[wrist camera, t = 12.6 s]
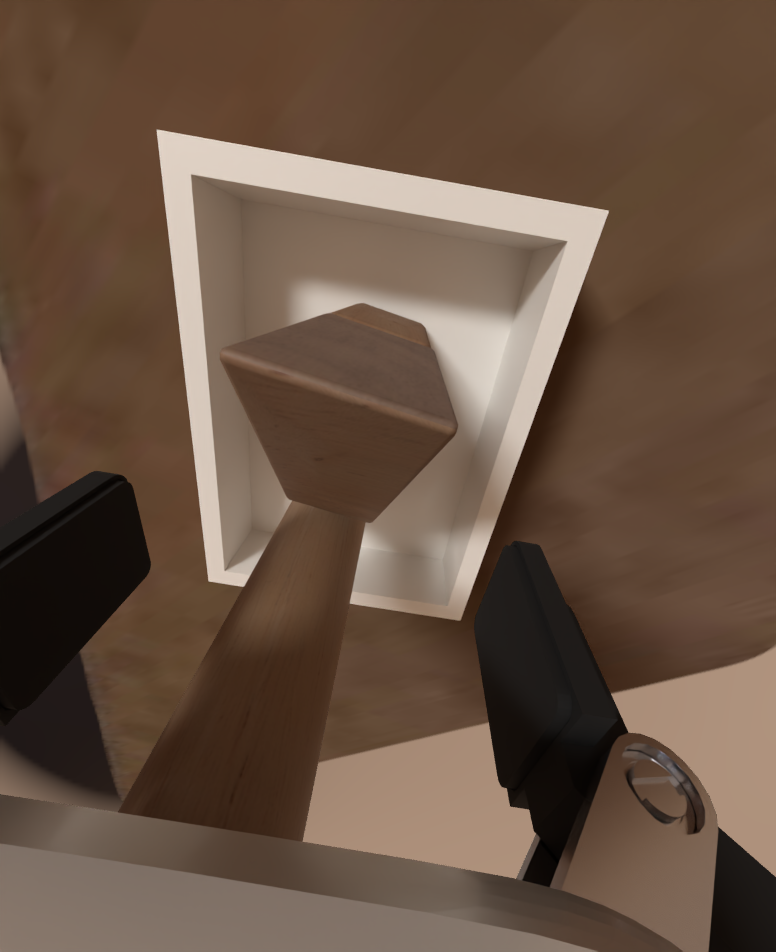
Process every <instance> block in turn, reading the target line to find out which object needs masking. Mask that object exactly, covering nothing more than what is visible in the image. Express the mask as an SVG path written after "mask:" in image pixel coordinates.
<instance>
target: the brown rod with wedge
mask: <svg viewBox="0 0 776 952" xmlns="http://www.w3.org/2000/svg"><path fill="white" fill-rule="evenodd" d="M220 361H221V363H222V365H223V367H224V369H225V371H226V373H227V375H228V377H229V380H230V382H231V384H232V386H233V388H234V390H235V392H236V394H237V396H238V398H239V400H240V402H241V404H242V406H243V408H244V410H245V412H246V415H247V417H248V419H249V421H250V423H251V425H252V427H253V429H254V431H255V433H256V435H257V437H258V439H259V441H260V443H261V445H262V448H263V450H264V452H265V454H266V456H267V458H268V460H269V462H270V464H271V466H272V468H273V470H274V472H275V474H276V476H277V478H278V480H279V483H280V485H281V487H282V489H283V491H284V493H285V495H286V497H287V498H288V499H289V500H292V502H291V503H290V505H289V507H288V509H287V511H286V512H285V514H284V516H283V518H282V520H281V521H280V523H279V525H278V527H277V528H276V530H275V532H274V534H273V536H272V537H271V539H270V541H269V543H268V545H267V546H266V548H265V550H264V552H263V553H262V555H261V557H260V559H259V561H258V562H257V564H256V566H255V568H254V570H253V571H252V573H251V575H250V577H249V579H248V580H247V582H246V584H245V586H244V587H243V589H242V591H241V593H240V595H239V596H238V598H237V600H236V602H235V604H234V605H233V607H232V609H231V611H230V612H229V614H228V616H227V618H226V620H225V621H224V623H223V625H222V627H221V629H220V630H219V632H218V634H217V636H216V638H215V639H214V641H213V643H212V645H211V646H210V648H209V650H208V652H207V654H206V655H205V657H204V659H203V661H202V663H201V664H200V666H199V668H198V670H197V672H196V673H195V675H194V677H193V679H192V680H191V682H190V684H189V686H188V688H187V689H186V691H185V693H184V695H183V697H182V698H181V700H180V702H179V704H178V705H177V707H176V709H175V711H174V713H173V714H172V716H171V718H170V720H169V722H168V723H167V725H166V727H165V729H164V731H163V732H162V734H161V736H160V738H159V739H158V741H157V743H156V745H155V747H154V748H153V750H152V752H151V754H150V756H149V757H148V759H147V761H146V763H145V764H144V766H143V768H142V770H141V772H140V773H139V775H138V777H137V779H136V781H135V782H134V784H133V786H132V788H131V790H130V791H129V793H128V795H127V797H126V798H125V800H124V802H123V804H122V806H121V808H120V809H119V811H118V813H124V814H130V815H137V816H143V817H150V818H156V819H162V820H169V821H175V822H181V823H188V824H194V825H200V826H207V827H213V828H219V829H226V830H232V831H239V832H245V833H251V834H257V835H264V836H270V837H276V838H282V839H288V840H294V841H301V842H302V841H303V836H304V831H305V826H306V821H307V816H308V811H309V806H310V800H311V795H312V791H313V786H314V781H315V776H316V771H317V766H318V761H319V755H320V750H321V745H322V740H323V735H324V730H325V725H326V720H327V715H328V710H329V705H330V700H331V695H332V690H333V685H334V680H335V675H336V670H337V665H338V660H339V655H340V650H341V644H342V639H343V634H344V629H345V624H346V619H347V614H348V609H349V604H350V599H351V594H352V589H353V584H354V579H355V574H356V569H357V564H358V559H359V554H360V549H361V544H362V539H363V534H364V528H365V523H366V522H367V523H372V522H373V521H374V520H375V519H376V518H377V517H378V516H379V515H380V514H381V513H382V512H383V511H384V510H385V509H386V508H387V507H388V506H389V505H390V503H391V502H392V501H393V500H394V499H395V498H396V497H397V496H398V495H399V494H400V493H401V492H402V491H403V490H404V489H405V488H406V487H407V486H408V485H409V483H410V482H411V481H412V480H413V479H414V478H415V477H416V476H417V475H418V474H419V473H420V472H421V471H422V470H423V469H424V468H425V467H426V466H427V465H428V464H429V462H430V461H431V460H432V459H433V458H434V457H435V456H436V455H437V454H438V453H439V452H440V451H441V450H442V449H443V448H444V447H445V446H446V445H447V444H448V442H449V441H450V440H451V439H452V438H453V437H454V436H455V434H456V432H457V429H458V422H457V419H456V416H455V413H454V410H453V407H452V404H451V401H450V398H449V395H448V391H447V388H446V385H445V382H444V379H443V376H442V373H441V370H440V367H439V364H438V360H437V357H436V354H435V351H434V350H433V349H432V348H431V346H430V342H429V339H428V335H427V332H426V328H425V327H424V326H423V325H422V324H421V323H419V322H416V321H413V320H411V319H408V318H405V317H402V316H399V315H396V314H394V313H391V312H388V311H385V310H382V309H379V308H376V307H374V306H371V305H368V304H365V303H358V304H355V305H352V306H349V307H346V308H343V309H340V310H337V311H334V312H331V313H326V314H323V315H320V316H317V317H314V318H311V319H308V320H305V321H302V322H299V323H296V324H293V325H290V326H287V327H284V328H281V329H278V330H275V331H272V332H269V333H266V334H263V335H260V336H257V337H254V338H251V339H248V340H245V341H242V342H239V343H236V344H233V345H230V346H226V347H223V348H222V349H221V351H220Z"/></svg>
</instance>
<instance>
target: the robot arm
mask: <svg viewBox="0 0 776 952" xmlns="http://www.w3.org/2000/svg"><path fill="white" fill-rule="evenodd" d="M150 566H151V561H150V557H149V553H148V549H147V545H146V540H145V536H144V532H143V528H142V524H141V519H140V515H139V511H138V507H137V503H136V498H135V494H134V490H133V487H132V485H131V484H130V483H129V482H127V479H126V478H125V477H124V476H122V475H119V474H113V473H107V472H101V471H94V472H91V473H89V474H88V475H86V476H84V477H83V478H81V479H79V480H78V481H76V482H74V483H73V484H71V485H69V486H68V487H66V488H64V489H63V490H61V491H59V492H58V493H56V494H55V495H53V496H51V497H50V498H48V499H46V500H45V501H43V502H41V503H40V504H38V505H36V506H35V507H33V508H32V509H30V510H28V511H27V512H25V513H23V514H22V515H20V516H18V517H17V518H15V519H14V520H12V521H10V522H9V523H7V524H5V525H4V526H2V527H0V725H2V726H6V725H7V723H8V722H9V721H10V720H11V719H12V718H13V717H14V716H15V715H16V714H17V712H18V711H19V710H22V709H24V708H26V707H28V706H29V705H31V704H32V703H33V702H34V701H35V700H36V699H37V698H38V696H39V695H40V694H41V693H42V692H43V691H44V690H45V689H46V688H47V686H48V685H49V684H50V683H51V682H52V681H53V680H54V679H55V678H56V676H57V675H58V674H59V673H60V672H61V671H62V670H63V669H64V668H65V666H66V665H67V664H68V663H69V662H70V661H71V660H72V659H73V658H74V656H75V655H76V654H77V653H78V652H79V651H80V650H81V649H82V648H83V646H84V645H85V644H86V643H87V642H88V641H89V640H90V639H91V638H92V636H93V635H94V634H95V633H96V632H97V631H98V630H99V629H100V627H101V626H102V625H103V624H104V623H105V622H106V621H107V620H108V619H109V617H110V616H111V615H112V614H113V613H114V612H115V611H116V610H117V609H118V607H119V606H120V605H121V604H122V603H123V602H124V601H125V600H126V599H127V597H128V596H129V595H130V594H131V593H132V592H133V591H134V590H135V589H136V587H137V586H138V585H139V584H140V583H141V582H142V581H143V580H144V579H145V577H146V576H147V575H148V573H149V570H150ZM474 630H475V637H476V644H477V650H478V656H479V663H480V669H481V675H482V682H483V688H484V694H485V701H486V707H487V713H488V720H489V726H490V732H491V739H492V745H493V751H494V758H495V764H496V770H497V776H498V780H499V783H500V785H501V786H502V787H504V788H507V791H508V797H509V803H510V806H511V807H517V808H524V809H529V810H530V815H531V820H532V824H533V829H534V831H535V833H536V835H535V837H534V840H533V842H532V844H531V847H530V849H529V851H528V853H527V855H526V858H525V860H524V862H523V865H522V867H521V869H520V871H519V874H518V876H517V878H516V879H514V878H509V877H503V876H498V875H492V874H487V873H481V872H476V871H471V870H465V869H459V868H455V867H449V866H444V865H438V864H433V863H428V862H422V861H417V860H411V859H405V858H398V857H393V856H387V855H380V854H374V853H368V852H362V851H356V850H350V849H343V848H337V847H331V846H325V845H319V844H313V843H307V842H301V841H294V840H288V839H282V838H276V837H270V836H264V835H257V834H251V833H245V832H239V831H232V830H226V829H219V828H213V827H207V826H200V825H194V824H188V823H181V822H175V821H169V820H162V819H156V818H150V817H143V816H137V815H130V814H124V813H118V812H111V811H105V810H98V809H92V808H86V807H78V806H72V805H67V804H60V803H54V802H47V801H40V800H33V799H27V798H21V797H14V796H7V795H1V794H0V952H776V877H775V876H774V875H773V874H771V873H770V872H769V871H768V870H767V869H766V868H765V867H763V866H762V865H761V864H760V863H759V862H758V861H757V860H755V859H754V858H753V857H752V856H751V855H750V854H749V853H747V852H746V851H745V850H744V849H743V848H742V847H741V846H739V845H738V844H737V843H736V842H735V841H734V840H733V839H732V838H730V837H729V836H728V835H727V834H726V833H725V832H723V831H722V830H721V829H720V828H719V827H718V824H717V814H716V812H715V809H714V807H713V804H712V802H711V799H710V796H709V795H708V793H707V792H706V790H705V788H704V787H703V785H702V784H701V782H700V780H699V779H698V777H697V776H696V775H695V774H694V773H693V771H692V770H691V769H690V768H689V767H688V766H687V764H686V763H685V762H684V761H683V760H682V759H680V758H679V757H678V756H677V755H676V754H675V753H674V752H673V751H671V750H670V749H669V748H667V747H666V746H664V745H663V744H661V743H660V742H658V741H656V740H655V739H652V738H650V737H647V736H645V735H642V734H636V733H628V731H627V728H626V726H625V724H624V722H623V719H622V717H621V715H620V713H619V711H618V709H617V707H616V704H615V702H614V700H613V698H612V695H611V693H610V691H609V689H608V687H607V685H606V682H605V680H604V678H603V676H602V674H601V671H600V669H599V667H598V665H597V663H596V661H595V658H594V656H593V654H592V652H591V650H590V647H589V645H588V643H587V641H586V639H585V637H584V634H583V632H582V630H581V628H580V626H579V623H578V621H577V619H576V617H575V615H574V613H573V611H572V610H571V608H570V607H569V606H568V605H567V604H566V603H565V600H564V598H563V596H562V594H561V592H560V589H559V587H558V585H557V583H556V580H555V578H554V576H553V574H552V571H551V569H550V567H549V565H548V563H547V560H546V558H545V556H544V554H543V551H542V549H541V547H540V546H539V545H537V544H532V543H526V542H520V541H514V542H513V543H512V544H511V546H508V545H506V546H505V547H504V548H503V550H502V553H501V555H500V557H499V560H498V562H497V565H496V567H495V570H494V572H493V575H492V577H491V580H490V582H489V585H488V587H487V589H486V592H485V594H484V597H483V599H482V602H481V604H480V607H479V609H478V612H477V614H476V617H475V623H474Z"/></svg>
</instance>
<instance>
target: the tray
mask: <svg viewBox="0 0 776 952" xmlns="http://www.w3.org/2000/svg"><path fill="white" fill-rule="evenodd" d="M157 137H158V146H159V154H160V163H161V172H162V180H163V189H164V198H165V206H166V215H167V224H168V232H169V241H170V250H171V258H172V267H173V276H174V285H175V293H176V302H177V311H178V319H179V328H180V337H181V345H182V354H183V363H184V371H185V380H186V389H187V397H188V406H189V415H190V423H191V432H192V441H193V450H194V458H195V467H196V476H197V484H198V493H199V502H200V510H201V519H202V528H203V536H204V545H205V554H206V562H207V571H208V580H209V581H211V582H217V583H223V584H230V585H236V586H242V587H244V586H245V584H246V582H247V580H248V579H249V577H250V575H251V573H252V571H253V570H254V568H255V566H256V564H257V562H258V561H259V559H260V557H261V555H262V553H263V552H264V550H265V548H266V546H267V545H268V543H269V541H270V539H271V537H272V536H273V534H274V532H275V530H276V528H277V527H278V525H279V523H280V521H281V520H282V518H283V516H284V514H285V512H286V511H287V509H288V507H289V505H290V503H291V502H292V500H289V499H288V498H287V497H286V495H285V493H284V491H283V489H282V487H281V485H280V483H279V480H278V478H277V476H276V474H275V472H274V470H273V468H272V466H271V464H270V462H269V460H268V458H267V456H266V454H265V452H264V450H263V448H262V445H261V443H260V441H259V439H258V437H257V435H256V433H255V431H254V429H253V427H252V425H251V423H250V421H249V419H248V417H247V415H246V412H245V410H244V408H243V406H242V404H241V402H240V400H239V398H238V396H237V394H236V392H235V390H234V388H233V386H232V384H231V382H230V380H229V377H228V375H227V373H226V371H225V369H224V367H223V365H222V363H221V361H220V351H221V349H222V348H223V347H226V346H230V345H233V344H236V343H239V342H242V341H245V340H248V339H251V338H254V337H257V336H260V335H263V334H266V333H269V332H272V331H275V330H278V329H281V328H284V327H287V326H290V325H293V324H296V323H299V322H302V321H305V320H308V319H311V318H314V317H317V316H320V315H323V314H326V313H331V312H334V311H337V310H340V309H343V308H346V307H349V306H352V305H355V304H358V303H365V304H368V305H371V306H374V307H376V308H379V309H382V310H385V311H388V312H391V313H394V314H396V315H399V316H402V317H405V318H408V319H411V320H413V321H416V322H419V323H421V324H422V325H423V326H424V327H425V328H426V332H427V335H428V339H429V342H430V346H431V348H432V349H433V350H434V351H435V354H436V357H437V360H438V364H439V367H440V370H441V373H442V376H443V379H444V382H445V385H446V388H447V391H448V395H449V398H450V401H451V404H452V407H453V410H454V413H455V416H456V419H457V422H458V429H457V432H456V434H455V436H454V437H453V438H452V439H451V440H450V441H449V442H448V444H447V445H446V446H445V447H444V448H443V449H442V450H441V451H440V452H439V453H438V454H437V455H436V456H435V457H434V458H433V459H432V460H431V461H430V462H429V464H428V465H427V466H426V467H425V468H424V469H423V470H422V471H421V472H420V473H419V474H418V475H417V476H416V477H415V478H414V479H413V480H412V481H411V482H410V483H409V485H408V486H407V487H406V488H405V489H404V490H403V491H402V492H401V493H400V494H399V495H398V496H397V497H396V498H395V499H394V500H393V501H392V502H391V503H390V505H389V506H388V507H387V508H386V509H385V510H384V511H383V512H382V513H381V514H380V515H379V516H378V517H377V518H376V519H375V520H374V521H373V522H372V523H367V522H366V523H365V528H364V534H363V539H362V544H361V549H360V554H359V559H358V564H357V569H356V574H355V579H354V584H353V589H352V594H351V599H350V604H357V605H363V606H369V607H376V608H382V609H388V610H395V611H401V612H408V613H414V614H420V615H427V616H433V617H439V618H446V619H452V620H458V621H460V620H461V618H462V615H463V612H464V609H465V607H466V604H467V601H468V598H469V596H470V593H471V590H472V587H473V584H474V582H475V579H476V576H477V573H478V571H479V568H480V565H481V562H482V560H483V557H484V554H485V551H486V549H487V546H488V543H489V540H490V538H491V535H492V532H493V529H494V527H495V524H496V521H497V518H498V516H499V513H500V510H501V507H502V505H503V502H504V499H505V496H506V493H507V491H508V488H509V485H510V482H511V480H512V477H513V474H514V471H515V469H516V466H517V463H518V460H519V458H520V455H521V452H522V449H523V447H524V444H525V441H526V438H527V436H528V433H529V430H530V427H531V425H532V422H533V419H534V416H535V413H536V411H537V408H538V405H539V402H540V400H541V397H542V394H543V391H544V389H545V386H546V383H547V380H548V378H549V375H550V372H551V369H552V367H553V364H554V361H555V358H556V356H557V353H558V350H559V347H560V345H561V342H562V339H563V336H564V334H565V331H566V328H567V325H568V322H569V320H570V317H571V314H572V311H573V309H574V306H575V303H576V300H577V298H578V295H579V292H580V289H581V287H582V284H583V281H584V278H585V276H586V273H587V270H588V267H589V265H590V262H591V259H592V256H593V254H594V251H595V248H596V245H597V243H598V240H599V237H600V234H601V231H602V229H603V226H604V223H605V220H606V218H607V215H608V212H609V211H607V210H601V209H596V208H590V207H584V206H579V205H573V204H568V203H562V202H557V201H551V200H545V199H540V198H534V197H529V196H523V195H518V194H512V193H506V192H501V191H495V190H490V189H484V188H479V187H473V186H467V185H462V184H456V183H451V182H445V181H440V180H434V179H429V178H423V177H417V176H412V175H406V174H401V173H395V172H390V171H384V170H378V169H373V168H367V167H362V166H356V165H351V164H345V163H339V162H334V161H328V160H323V159H317V158H312V157H306V156H300V155H295V154H289V153H284V152H278V151H273V150H267V149H261V148H256V147H250V146H245V145H239V144H234V143H228V142H222V141H217V140H211V139H206V138H200V137H195V136H189V135H184V134H178V133H172V132H167V131H161V130H157Z"/></svg>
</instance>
